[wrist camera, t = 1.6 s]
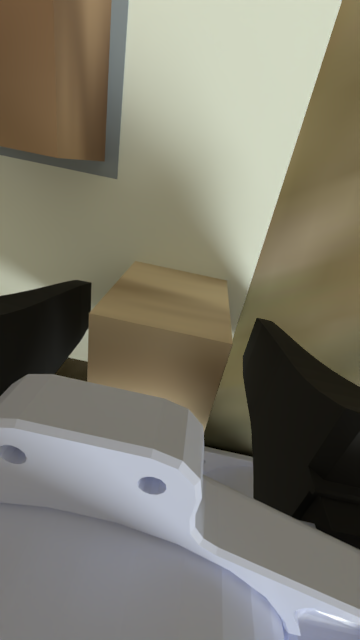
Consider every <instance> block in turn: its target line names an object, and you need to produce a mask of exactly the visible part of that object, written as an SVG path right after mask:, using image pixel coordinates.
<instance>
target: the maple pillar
mask: <svg viewBox="0 0 360 640" xmlns="http://www.w3.org/2000/svg"><path fill="white" fill-rule="evenodd" d="M232 345H233V340H232V330H231V319H230V309H229V299H228V288H227V280H222V279H218V278H213V277H208V276H203V275H199V274H194V273H189V272H185V271H180V270H175V269H170V268H166V267H161V266H156V265H152V264H147V263H142V262H137V261H135V262H134V263H133V264H132V265H131V266H130V267H129V269H128V270H127V271H126V272H125V273H124V274H123V275H122V276H121V278H120V279H119V280H118V281H117V282H116V283H115V284H114V285H113V287H112V288H111V289H110V290H109V291H108V292H107V293H106V294H105V296H104V297H103V298H102V299H101V300H100V301H99V302H98V304H97V305H96V306H95V307H94V308H93V309H92V310H91V311H90V313H89V331H88V371H87V382H91V383H96V384H100V385H105V386H109V387H114V388H119V389H123V390H128V391H132V392H137V393H141V394H146V395H151V396H155V397H160V398H164V399H167V400H169V401H171V402H174V403H176V404H178V405H181V406H183V407H185V408H187V409H189V410H190V411H191V412H192V413H193V415H194V416H195V417H196V418H197V419H198V420H199V422H200V423H201V424H202V425H203V431H205V428H206V425H207V422H208V419H209V415H210V412H211V409H212V406H213V403H214V400H215V397H216V394H217V391H218V388H219V385H220V382H221V379H222V376H223V373H224V370H225V367H226V364H227V361H228V358H229V354H230V351H231V348H232Z"/></svg>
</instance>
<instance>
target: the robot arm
mask: <svg viewBox="0 0 360 640" xmlns="http://www.w3.org/2000/svg"><path fill="white" fill-rule="evenodd" d="M91 286H92V283H91V282H86V281H81V280H71V281H66V282H62V283H58V284H53V285H49V286H45V287H41V288H37V289H33V290H28V291H23V292H19V293H14V294H8V295H2V296H0V640H360V387H359V386H357V385H355V384H353V383H352V382H350V381H348V380H346V379H345V378H343V377H342V376H340V375H338V374H337V373H335V372H334V371H332V370H331V369H329V368H328V367H326V366H325V365H324V364H322V363H321V362H319V361H318V360H317V359H316V358H314V357H313V356H312V355H311V354H309V353H308V352H307V351H306V350H304V349H303V348H302V347H301V346H300V345H299V344H297V343H296V342H295V341H294V340H293V339H292V338H291V337H290V336H288V335H287V334H286V333H285V332H284V331H283V330H282V329H281V328H280V327H278V326H277V325H276V324H275V323H273V322H272V321H269V320H264V319H259V318H257V319H256V322H255V324H254V327H253V330H252V333H251V335H250V338H249V341H248V344H247V347H246V349H245V352H244V355H243V378H244V385H245V391H246V397H247V403H248V409H249V414H250V421H251V430H252V449H253V457H250V456H246V455H241V454H237V453H232V452H228V451H223V450H218V449H214V448H209V447H205V446H204V431H203V425H202V424H201V423H200V422H199V420H198V419H197V418H196V417H195V416H194V415H193V413H192V412H191V411H190V410H189V409H187V408H185V407H183V406H181V405H178V404H176V403H174V402H171V401H169V400H167V399H164V398H160V397H155V396H151V395H146V394H141V393H137V392H132V391H128V390H123V389H119V388H114V387H109V386H105V385H100V384H96V383H91V382H86V381H82V380H77V379H73V378H68V377H63V376H59V375H54V374H55V373H56V372H57V370H58V369H59V368H60V367H61V365H62V364H63V363H64V362H65V360H66V359H67V358H68V357H69V355H70V354H71V353H72V352H73V350H74V349H75V348H76V346H77V345H78V344H79V343H80V341H81V340H82V338H83V336H84V335H85V333H86V331H87V329H88V327H89V313H90V311H91Z"/></svg>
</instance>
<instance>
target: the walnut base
mask: <svg viewBox="0 0 360 640" xmlns="http://www.w3.org/2000/svg"><path fill="white" fill-rule="evenodd" d="M111 3H112V0H0V146H2V147H7V148H12V149H16V150H21V151H26V152H31V153H36V154H40V155H45V156H50V157H55V158H63V159H77V160H90V161H103V162H105V142H106V119H107V96H108V73H109V50H110V26H111Z"/></svg>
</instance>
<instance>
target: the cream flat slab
mask: <svg viewBox="0 0 360 640" xmlns="http://www.w3.org/2000/svg"><path fill="white" fill-rule="evenodd" d="M341 2H342V0H112V3H111V26H110V50H109V73H108V96H107V119H106V142H105V162H103V161H90V160H77V159H63V158H55V157H50V156H45V155H40V154H36V153H31V152H26V151H21V150H16V149H12V148H7V147H2V146H0V296H2V295H8V294H14V293H19V292H23V291H28V290H33V289H37V288H41V287H45V286H49V285H53V284H58V283H62V282H66V281H71V280H81V281H86V282H91V283H92V286H91V310H92V309H93V308H94V307H95V306H96V305H97V304H98V302H99V301H100V300H101V299H102V298H103V297H104V296H105V294H106V293H107V292H108V291H109V290H110V289H111V288H112V287H113V285H114V284H115V283H116V282H117V281H118V280H119V279H120V278H121V276H122V275H123V274H124V273H125V272H126V271H127V270H128V269H129V267H130V266H131V265H132V264H133V263H134V262H135V261H137V262H142V263H147V264H152V265H156V266H161V267H166V268H170V269H175V270H180V271H185V272H189V273H194V274H199V275H203V276H208V277H213V278H218V279H222V280H227V288H228V299H229V309H230V319H231V330H232V339H233V336H234V333H235V329H236V326H237V323H238V320H239V317H240V314H241V311H242V308H243V305H244V302H245V299H246V295H247V292H248V289H249V286H250V283H251V280H252V277H253V274H254V271H255V268H256V264H257V261H258V258H259V255H260V252H261V249H262V246H263V243H264V240H265V237H266V234H267V230H268V227H269V224H270V221H271V218H272V215H273V212H274V209H275V206H276V203H277V200H278V196H279V193H280V190H281V187H282V184H283V181H284V178H285V175H286V172H287V169H288V166H289V162H290V159H291V156H292V153H293V150H294V147H295V144H296V141H297V138H298V135H299V132H300V128H301V125H302V122H303V119H304V116H305V113H306V110H307V107H308V104H309V101H310V97H311V94H312V91H313V88H314V85H315V82H316V79H317V76H318V73H319V70H320V67H321V63H322V60H323V57H324V54H325V51H326V48H327V45H328V42H329V39H330V36H331V33H332V29H333V26H334V23H335V20H336V17H337V14H338V11H339V8H340V5H341ZM88 331H89V327H88V329H87V331H86V333H85V335H84V336H83V338H82V340H81V341H80V343H79V344H78V345H77V346H76V348H75V349H74V350H73V352H72V353H71V354H70V355H69V358H73V359H78V360H83V361H87V362H88Z"/></svg>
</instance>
